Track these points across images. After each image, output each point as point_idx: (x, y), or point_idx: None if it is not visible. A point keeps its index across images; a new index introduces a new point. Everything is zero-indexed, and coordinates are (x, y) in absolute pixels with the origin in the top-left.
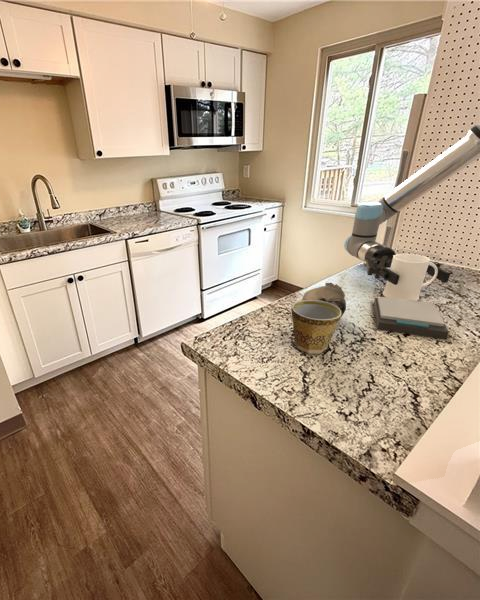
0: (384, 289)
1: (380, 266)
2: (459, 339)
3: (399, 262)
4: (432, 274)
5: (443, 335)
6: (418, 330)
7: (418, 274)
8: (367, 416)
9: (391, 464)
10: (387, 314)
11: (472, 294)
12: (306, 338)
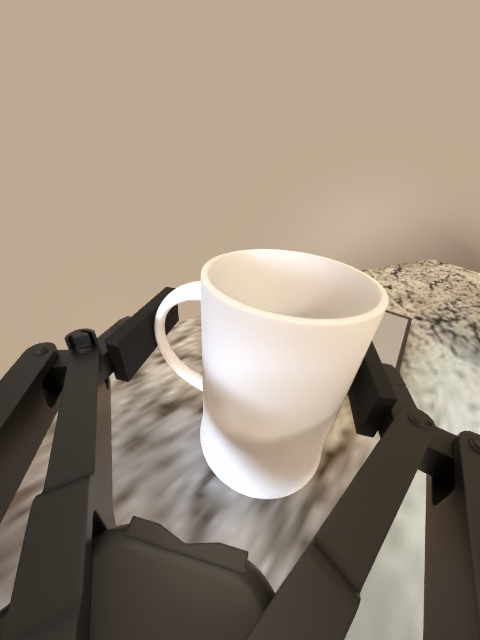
0: (314, 464)
1: (402, 437)
2: None
3: (364, 288)
4: (144, 353)
5: None
6: None
7: (279, 302)
8: (439, 272)
9: (427, 260)
10: (394, 318)
11: None
12: None
